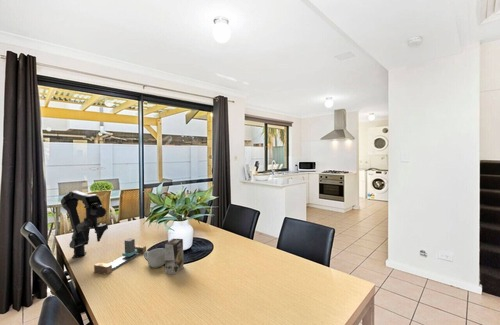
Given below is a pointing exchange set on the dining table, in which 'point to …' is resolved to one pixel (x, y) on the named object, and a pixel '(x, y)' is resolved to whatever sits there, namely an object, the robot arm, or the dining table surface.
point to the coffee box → (173, 256)
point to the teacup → (155, 257)
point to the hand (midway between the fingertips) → (92, 240)
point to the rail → (118, 261)
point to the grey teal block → (129, 247)
